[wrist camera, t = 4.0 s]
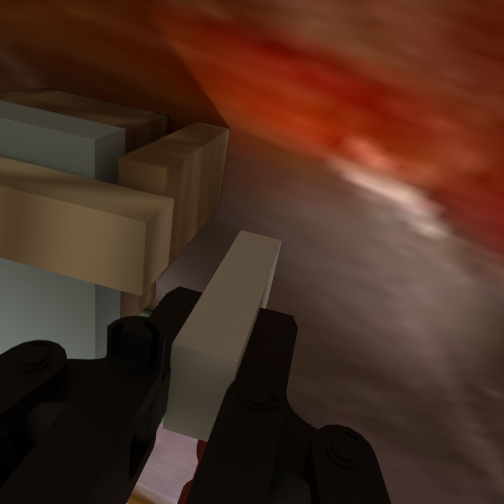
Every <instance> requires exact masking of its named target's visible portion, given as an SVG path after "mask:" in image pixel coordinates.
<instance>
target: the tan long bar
mask: <svg viewBox="0 0 504 504" xmlns="http://www.w3.org/2000/svg"><path fill="white" fill-rule="evenodd" d="M173 206H174V199H172V198H168V197H164V196H160V195H155V194H151V193H147V192H143V191H139V190H135V189H131V188H127V187H123V186H119V185H115V184H110V183H106V182H102V181H98V180H94V179H90V178H86V177H82V176H78V175H74V174H69V173H65V172H61V171H57V170H53V169H49V168H45V167H41V166H37V165H33V164H28V163H24V162H20V161H16V160H12V159H8V158H4V157H0V258H3V259H7V260H11V261H14V262H18V263H21V264H25V265H29V266H32V267H36V268H40V269H43V270H47V271H51V272H54V273H58V274H62V275H65V276H69V277H73V278H76V279H80V280H84V281H87V282H91V283H95V284H98V285H102V286H106V287H109V288H113V289H116V290H120V291H124V292H127V293H131V294H135V295H138V296H143V295H144V293H145V292H146V291H147V290H148V289H149V288H150V286H151V285H152V284H153V283H154V282H155V281H156V279H157V278H158V277H159V276H160V275H161V273H162V272H163V271H164V270H165V269H166V268H167V266H168V262H169V251H170V240H171V229H172V217H173Z"/></svg>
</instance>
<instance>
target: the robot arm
mask: <svg viewBox="0 0 504 504" xmlns="http://www.w3.org/2000/svg"><path fill="white" fill-rule="evenodd" d="M281 242H282V240H279V239H275V238H271V237H267V236H263V235H259V234H255V233H251V232H247V231H243V230H241V231H240V233H239V234H238V236H237V238H236V239H235V241H234V243H233V244H232V246H231V248H230V249H229V251H228V253H227V254H226V256H225V257H224V259H223V261H222V262H221V264H220V266H219V267H218V269H217V271H216V272H215V274H214V276H213V277H212V279H211V281H210V282H209V284H208V286H207V287H206V289H205V291H204V292H203V293H202V292H198V291H194V290H191V289H187V288H183V287H180V286H179V287H177V288H176V289H174V290H172V291H170V292H168V293H166V295H165V296H164V297H163V299H162V300H161V301H160V303H159V305H158V306H157V307H156V308H155V309H154V311H153V312H152V314H151V315H150V316H149V317H144V316H137V315H136V316H125V317H123V318H120V319H117V320H115V321H113V322H112V323H111V324H109V325H108V326H107V355H106V356H105V357H104V358H100V359H68V358H67V355H66V351H65V349H64V348H63V347H62V346H61V345H60V344H58V343H55V342H52V341H49V340H33V341H27V342H23V343H21V344H19V345H16V346H14V347H12V348H10V349H9V350H7V351H5V352H4V353H2V354H0V504H126V503H127V501H128V499H129V497H130V495H131V493H132V491H133V489H134V487H135V485H136V483H137V481H138V479H139V477H140V474H141V472H142V470H143V468H144V466H145V464H146V462H147V460H148V458H149V456H150V454H151V452H152V450H153V448H154V444H155V440H156V432H157V429H158V427H159V425H160V423H161V421H162V419H163V417H164V423H163V428H164V429H167V430H170V431H174V432H177V433H180V434H183V435H186V436H190V437H193V438H196V439H199V440H202V441H206V442H207V445H206V447H205V450H204V453H203V455H202V458H201V461H200V464H199V466H198V469H197V472H196V474H195V477H194V480H193V483H192V485H191V488H190V491H189V493H188V496H187V499H186V502H185V504H391V502H390V498H389V495H388V492H387V489H386V486H385V483H384V480H383V476H382V473H381V470H380V467H379V464H378V461H377V458H376V455H375V453H374V451H373V449H372V447H371V445H370V444H369V443H368V442H367V440H366V439H365V438H364V437H363V436H362V435H361V434H359V433H357V432H356V431H354V430H352V429H351V428H348V427H345V426H341V425H326V426H324V427H322V428H321V429H319V430H318V429H316V428H315V427H313V426H311V425H310V424H308V423H307V422H305V421H304V420H302V419H301V418H300V417H298V415H297V414H296V413H295V412H294V411H293V410H292V408H291V407H290V405H289V403H288V400H287V397H286V388H287V383H288V378H289V372H290V367H291V362H292V357H293V351H294V346H295V341H296V335H297V330H298V327H297V325H296V322H295V320H294V317H293V316H291V315H287V314H284V313H280V312H276V311H273V310H269V309H265V308H266V305H267V302H268V298H269V293H270V289H271V285H272V280H273V276H274V272H275V268H276V263H277V259H278V255H279V250H280V246H281Z"/></svg>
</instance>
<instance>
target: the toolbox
mask: <svg viewBox="0 0 504 504" xmlns="http://www.w3.org/2000/svg"><path fill="white" fill-rule="evenodd" d="M0 100H1V101H5V102H10V103H14V104H18V105H23V106H27V107H32V108H36V109H40V110H45V111H49V112H53V113H58V114H62V115H67V116H71V117H75V118H80V119H84V120H89V121H93V122H97V123H102V124H106V125H111V126H115V127H119V128H124V129H125V155H124V156H121V157H119V158H118V185H119V186H123V187H127V188H131V189H135V190H139V191H143V192H147V193H151V194H155V195H160V196H164V197H168V198H172V199H174V206H173V217H172V229H171V240H170V251H169V262H168V266H167V268H168V267H169V266H170V265H171V264H172V262H173V261H174V260H175V259H176V258H177V257H178V255H179V254H180V253H181V252H182V251H183V249H184V248H185V247H186V246H187V245H188V244H189V242H190V241H191V240H192V239H193V238H194V236H195V235H196V234H197V233H198V232H199V230H200V229H201V228H202V227H203V226H204V225H205V223H206V222H207V221H208V220H209V219H210V217H211V216H212V215H213V214H214V213H215V212H216V210H217V209H218V208H219V202H220V195H221V188H222V181H223V174H224V167H225V160H226V153H227V146H228V139H229V132H230V129H229V128H225V127H220V126H216V125H211V124H207V123H202V122H195V123H193V124H191V125H189V126H187V127H184V128H182V129H180V130H178V131H176V132H174V133H171V134H169V135H167V130H168V117H169V115H166V114H161V113H157V112H152V111H148V110H143V109H139V108H134V107H130V106H125V105H121V104H116V103H111V102H107V101H102V100H98V99H93V98H89V97H84V96H80V95H75V94H71V93H66V92H62V91H57V90H53V89H48V88H42V89H34V90H26V91H18V92H9V93H1V94H0ZM167 268H166V269H165V270H164V271H163V272H162V273H161V275H160V276H159V277H158V278H157V279H159V278H160V277H161V276H162V274H163V273H164V272H165V271H166V270H167ZM155 289H156V281H155V282H154V283H153V284H152V285H151V286H150V288H149V289H148V290H147V291H146V292H145V293H144V295H143V296H138V295H135V294H131V293H127V292H124V291H121V294H120V318H123V317H125V316H136V315H137V316H139V315H140V314H141V313H142V312H143V310H144V309H145V308H146V307H147V305H148V304H149V303H150V302H151V300H152V299H153V298H154V297H155Z"/></svg>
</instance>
